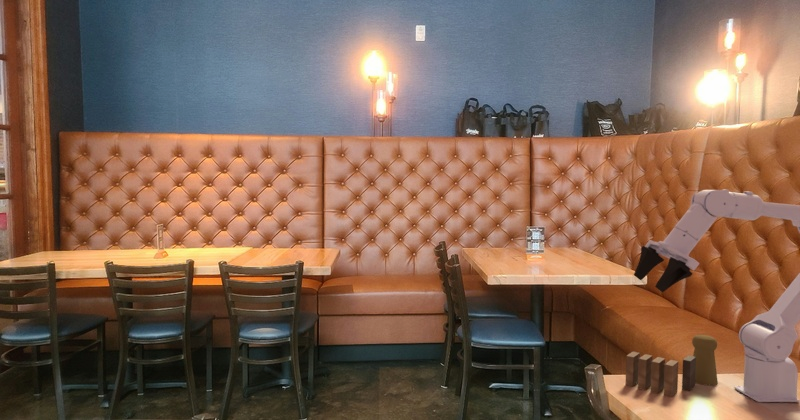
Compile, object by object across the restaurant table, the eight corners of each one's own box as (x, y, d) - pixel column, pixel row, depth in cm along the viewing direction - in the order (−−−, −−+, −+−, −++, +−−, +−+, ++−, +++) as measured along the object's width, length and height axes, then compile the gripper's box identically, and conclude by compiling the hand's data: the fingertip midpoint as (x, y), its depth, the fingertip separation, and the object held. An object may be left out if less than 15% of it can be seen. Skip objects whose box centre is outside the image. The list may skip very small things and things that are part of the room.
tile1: (694, 386, 122) (695, 356, 121) (689, 391, 119) (690, 361, 118) (687, 384, 123) (688, 355, 123) (681, 389, 120) (682, 359, 119)
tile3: (664, 388, 120) (665, 358, 120) (658, 393, 117) (658, 363, 117) (656, 386, 121) (657, 356, 121) (650, 391, 118) (651, 361, 118)
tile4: (651, 384, 122) (652, 355, 122) (645, 390, 119) (646, 360, 119) (644, 383, 123) (645, 354, 123) (637, 388, 120) (638, 358, 120)
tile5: (639, 381, 124) (640, 352, 124) (632, 386, 121) (633, 357, 121) (632, 379, 125) (633, 351, 125) (625, 384, 122) (626, 355, 122)
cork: (722, 386, 122) (723, 340, 121) (693, 384, 123) (695, 338, 122) (712, 377, 128) (713, 333, 127) (685, 375, 129) (686, 331, 128)
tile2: (677, 391, 118) (678, 361, 118) (671, 397, 115) (672, 366, 115) (669, 389, 120) (670, 359, 119) (663, 394, 116) (664, 364, 116)
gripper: (652, 217, 122) (617, 263, 123) (698, 234, 108) (657, 285, 109) (672, 234, 124) (636, 279, 125) (719, 252, 110) (678, 302, 111)
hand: (647, 283), depth 117 cm, fingers open, 7 cm apart
